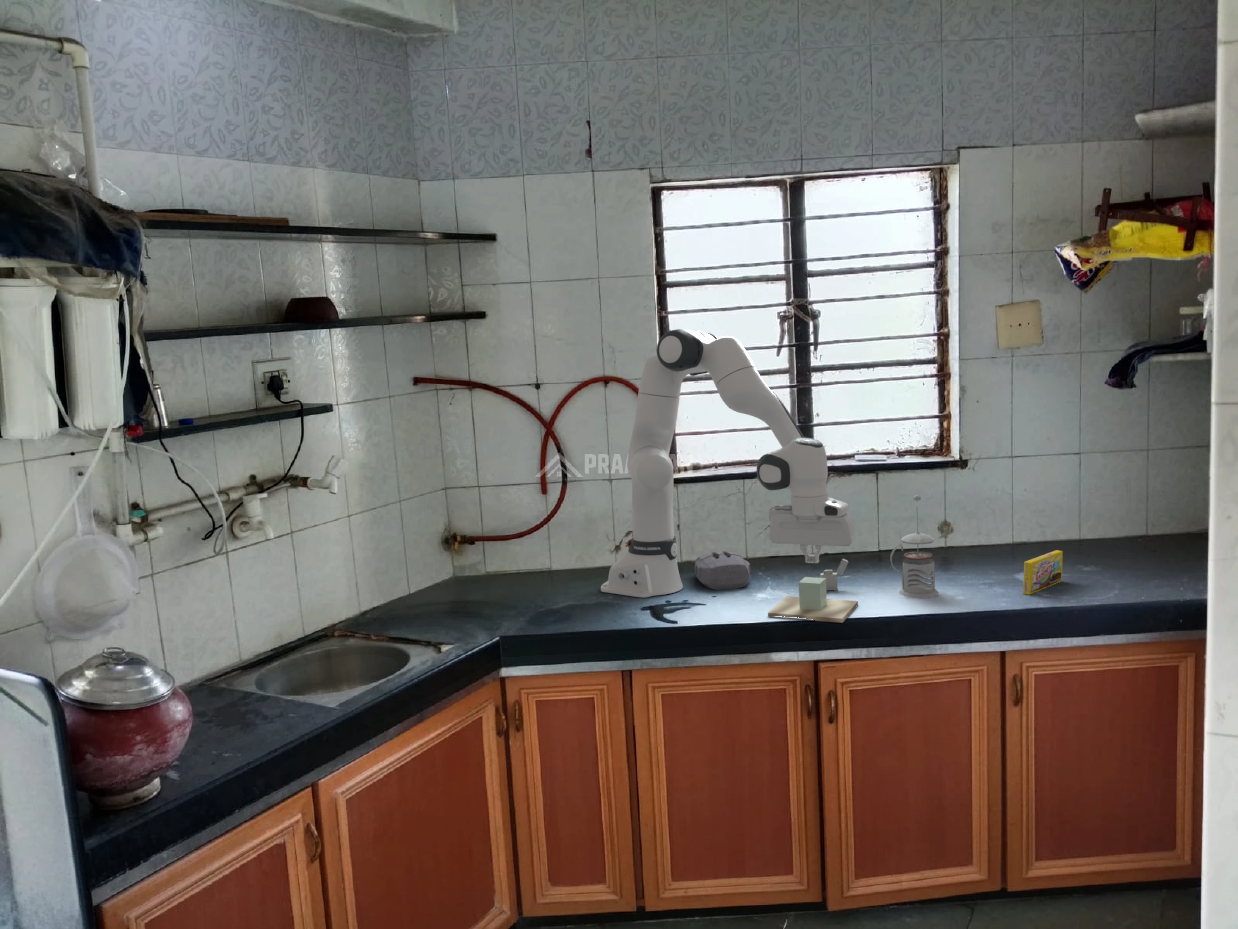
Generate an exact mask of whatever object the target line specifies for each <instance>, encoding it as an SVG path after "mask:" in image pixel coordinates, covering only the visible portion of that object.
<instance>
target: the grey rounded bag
mask: <svg viewBox="0 0 1238 929" xmlns="http://www.w3.org/2000/svg"><path fill="white" fill-rule="evenodd" d="M694 572H695V577H696V578H697V579H698V580H699V582H700V583H701V584H702V585H704V587H705V588H709V589H711V590H717V591H720V590H722V589H723V590H731V589H740V588H742V587H746V586H747V585H748V583H749V580H750V575H751V574H752V569H751V563H750V562H749V561H748V560H746V559H745V558H743V557H742V555H740V554H739V553H737V552H731V551H727V550H726V551H725V550H724V551H723V550H722V551H721V550H720V551H719V550H717V551H712V552H706V553H704V554H703V553H702V554H701V555H699V556H698V557H697V558H696V561H695V562H694ZM723 590H722V591H723Z"/></svg>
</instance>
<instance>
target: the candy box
mask: <svg viewBox="0 0 1238 929" xmlns="http://www.w3.org/2000/svg"><path fill="white" fill-rule="evenodd" d="M1063 553H1064V551H1063V550H1058V549H1056V550H1053V551H1050V552H1047V553H1045V554H1041V555H1040V556H1037V557H1034V558H1031V559H1029V560H1026V561H1024V565H1023V585H1022V586H1023V588H1022V589H1023V590H1022V595H1027V596H1030V595H1033V594H1035V593H1037V592H1040V591H1042V589H1043V590H1045V589H1047V587H1048V588H1049V586H1050V587H1052V586H1054V584H1055V585H1056V583H1057V584H1059V583H1062V582H1061V581H1063V560H1064V558H1063V557H1064V555H1063ZM1058 582H1059V583H1058ZM1051 585H1052V586H1051ZM1034 592H1035V593H1034Z"/></svg>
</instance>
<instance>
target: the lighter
mask: <svg viewBox="0 0 1238 929" xmlns="http://www.w3.org/2000/svg"><path fill="white" fill-rule="evenodd" d="M848 564H849V561H848V560H847V559H845V558H841V561H840V562H839V565H838V567H837V569H836V572H833V569H825V570H823V572H822V573H819V578H826V590H827V591H826V592H828V590H834V591H838V576H840V577H842V576H843V574H844V573H845V571H846V569H847V566H848Z"/></svg>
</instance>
